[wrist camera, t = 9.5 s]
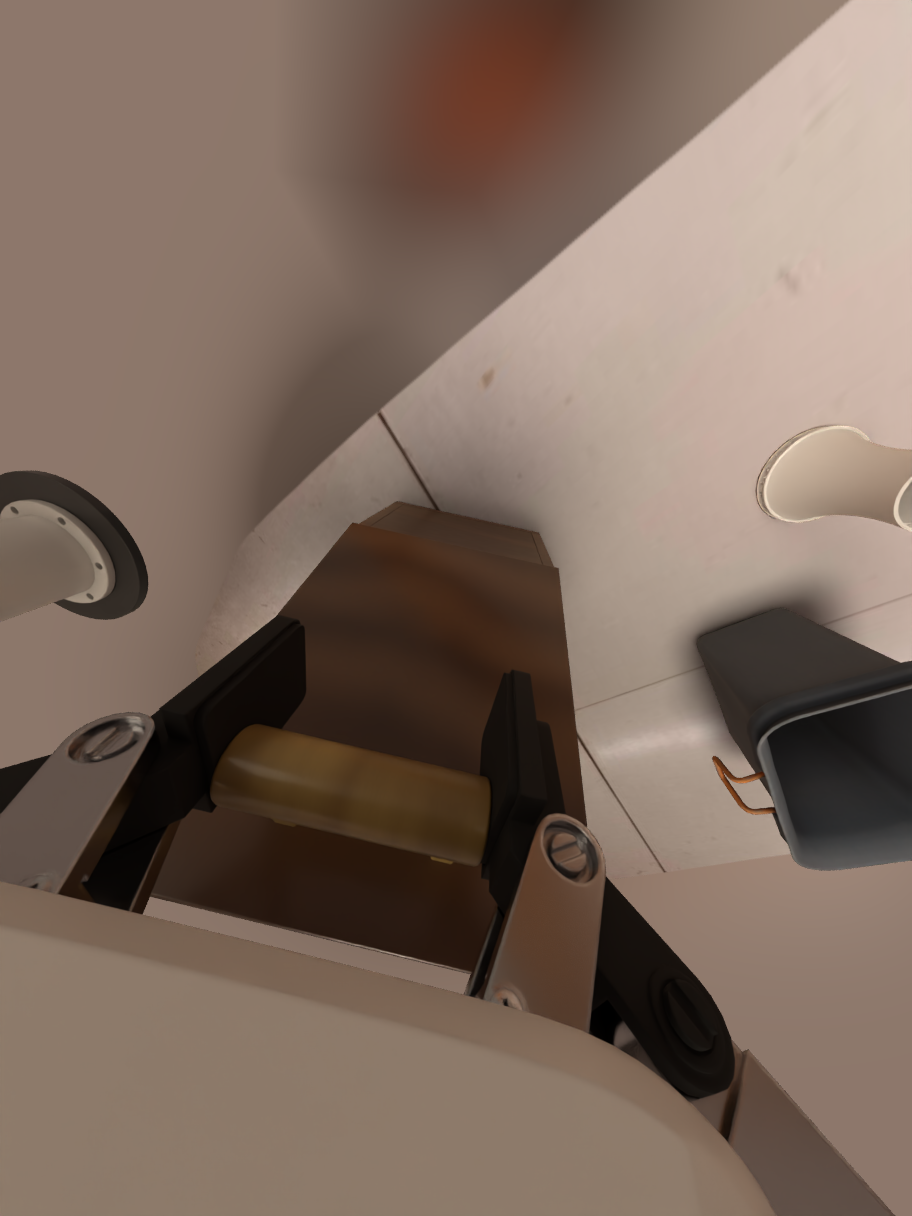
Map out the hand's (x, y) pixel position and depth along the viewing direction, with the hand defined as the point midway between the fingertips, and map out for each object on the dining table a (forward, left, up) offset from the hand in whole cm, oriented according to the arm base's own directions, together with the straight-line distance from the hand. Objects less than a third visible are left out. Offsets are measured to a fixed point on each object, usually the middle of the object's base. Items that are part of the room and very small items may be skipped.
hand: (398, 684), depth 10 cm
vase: (+28, +10, -26) cm, 39 cm away
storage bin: (+35, -11, -26) cm, 45 cm away
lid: (0, -3, -5) cm, 6 cm away
